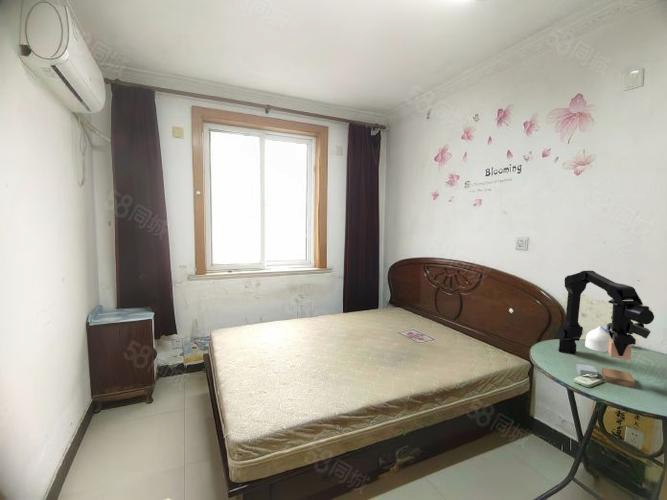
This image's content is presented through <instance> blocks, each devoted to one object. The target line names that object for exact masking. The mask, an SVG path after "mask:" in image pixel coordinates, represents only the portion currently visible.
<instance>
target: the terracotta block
mask: <svg viewBox="0 0 667 500" xmlns="http://www.w3.org/2000/svg"><path fill="white" fill-rule="evenodd" d="M607 353H608V354H609V356H610V357H611V358H615V359H621V360H627V361H631V359H632V344H630V345H628V346H627V348H626V350H625V352H624V354H623V356H619V355H618V352H617V350H616V347H615V345H614V342H613V340H612V339H611V338H609V349H608V352H607Z"/></svg>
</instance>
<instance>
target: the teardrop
mask: <svg viewBox="0 0 667 500" xmlns="http://www.w3.org/2000/svg"><path fill="white" fill-rule="evenodd" d="M601 327H602V326H601V325H599V326H598V327H597V328H595V329H592V330H589V332H587V334H586V337H585V342H584V346H585V347H586V348H587V349H590V350H593V351H595V352H596V351H597V352H602V353H603V352H604V353H609V352H608V349H609V338H611V337H610V335H609V334H607V333H606V332H605V331H604V330H603V329H602V328H601Z"/></svg>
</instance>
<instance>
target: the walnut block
mask: <svg viewBox="0 0 667 500" xmlns="http://www.w3.org/2000/svg"><path fill="white" fill-rule="evenodd" d="M601 374H602V378H603V377H604V378H603V380H604V379H605V381H604V383H608V384H609V383H610V384H612V385H618V386H623V387H627V388H632V389H635V387H636V386H635V385H636V382H635V379H634V377H633V375H632V374H631V372H629V371H624V370H618V369H615V368H614V369H613V368H607V367H603V366H602V367H601Z"/></svg>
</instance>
